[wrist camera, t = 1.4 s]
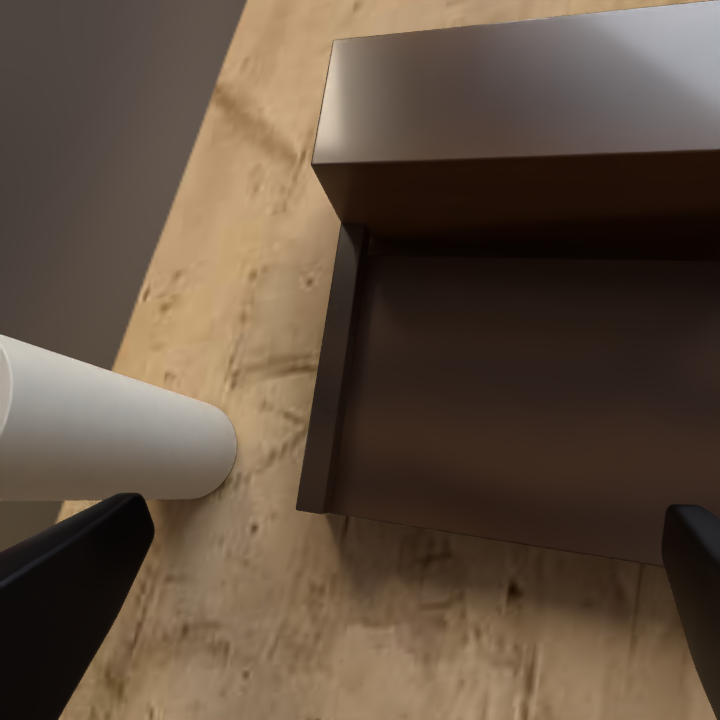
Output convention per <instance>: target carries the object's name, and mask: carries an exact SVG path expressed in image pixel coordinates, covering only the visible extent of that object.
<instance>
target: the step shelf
mask: <svg viewBox="0 0 720 720" xmlns="http://www.w3.org/2000/svg"><path fill="white" fill-rule="evenodd" d="M311 166H312V168H313V170H314V172H315V174H316V176H317V178H318V180H319V182H320V183H321V185H322V187H323V189H324V191H325V193H326V195H327V197H328V199H329V200H330V202H331V204H332V206H333V208H334V210H335V212H336V214H337V216H338V218H339V219H340V221H341V227H340V233H339V239H338V246H337V252H336V258H335V265H334V271H333V277H332V283H331V290H330V296H329V302H328V309H327V315H326V321H325V328H324V334H323V340H322V346H321V353H320V359H319V365H318V372H317V378H316V384H315V391H314V397H313V403H312V409H311V416H310V422H309V428H308V435H307V441H306V447H305V454H304V460H303V466H302V473H301V479H300V485H299V491H298V498H297V504H296V510H298V511H303V512H310V513H316V514H328V513H330V514H337V515H343V516H349V517H355V518H362V519H368V520H374V521H380V522H386V523H393V524H399V525H405V526H411V527H417V528H424V529H430V530H436V531H442V532H449V533H455V534H461V535H467V536H473V537H480V538H486V539H492V540H498V541H505V542H511V543H517V544H523V545H529V546H536V547H542V548H548V549H554V550H561V551H567V552H573V553H579V554H585V555H592V556H598V557H604V558H610V559H616V560H623V561H629V562H635V563H641V564H648V565H654V566H660V567H664V564H663V560H662V553H661V545H662V537H663V529H664V521H665V513H666V510H667V508H668V506H670V505H671V504H693V505H700V506H702V507H704V508H706V509H707V510H709V511H710V512H712V513H713V514H715V515H716V516H718V517H719V518H720V0H710V1H701V2H691V3H682V4H672V5H663V6H653V7H643V8H634V9H624V10H615V11H605V12H596V13H586V14H577V15H567V16H557V17H548V18H538V19H529V20H519V21H510V22H500V23H491V24H481V25H471V26H462V27H452V28H443V29H433V30H424V31H414V32H405V33H395V34H385V35H376V36H366V37H357V38H347V39H338V40H334V41H333V45H332V50H331V56H330V62H329V67H328V73H327V78H326V84H325V89H324V95H323V100H322V106H321V112H320V117H319V123H318V128H317V134H316V139H315V145H314V151H313V156H312V162H311Z"/></svg>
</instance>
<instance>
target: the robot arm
mask: <svg viewBox="0 0 720 720" xmlns="http://www.w3.org/2000/svg"><path fill="white" fill-rule="evenodd" d="M154 535H155V527H154V523H153V521H152V518H151V515H150V512H149V510H148V507H147V504H146V501H145V499H144V497H143V496H142V495H141V494H139V493H135V492H121V493H117V494H115V495H113V496H111V497H109V498H107V499H105V500H103V501H101V502H99V503H97V504H95V505H93V506H91V507H89V508H87V509H85V510H83V511H81V512H79V513H77V514H75V515H73V516H71V517H69V518H67V519H65V520H63V521H61V522H59V523H58V524H56V525H54V526H52V527H50V528H48V529H46V530H44V531H42V532H40V533H38V534H36V535H34V536H32V537H30V538H28V539H26V540H24V541H22V542H20V543H18V544H16V545H14V546H12V547H10V548H8V549H6V550H4V551H2V552H0V720H58V719H59V717H60V715H61V714H62V712H63V710H64V708H65V707H66V705H67V703H68V701H69V700H70V698H71V696H72V694H73V693H74V691H75V689H76V688H77V686H78V684H79V682H80V681H81V679H82V677H83V675H84V674H85V672H86V670H87V668H88V667H89V665H90V663H91V661H92V660H93V658H94V656H95V655H96V653H97V651H98V649H99V648H100V646H101V644H102V642H103V641H104V639H105V637H106V635H107V634H108V632H109V630H110V628H111V627H112V625H113V623H114V621H115V619H116V617H117V616H118V614H119V612H120V610H121V608H122V606H123V603H124V601H125V599H126V597H127V595H128V593H129V591H130V589H131V586H132V584H133V582H134V580H135V578H136V576H137V573H138V571H139V569H140V567H141V565H142V563H143V561H144V558H145V556H146V554H147V552H148V550H149V548H150V546H151V543H152V541H153V539H154ZM661 553H662V560H663V564H664V568H665V571H666V574H667V578H668V581H669V584H670V587H671V591H672V594H673V597H674V601H675V604H676V607H677V610H678V614H679V617H680V620H681V624H682V627H683V630H684V633H685V637H686V640H687V643H688V647H689V650H690V653H691V656H692V659H693V662H694V665H695V668H696V670H697V673H698V675H699V678H700V681H701V683H702V686H703V688H704V690H705V693H706V695H707V697H708V700H709V702H710V704H711V707H712V709H713V711H714V714H715V716H716V718H717V720H720V518H719V517H718V516H716V515H715V514H713V513H712V512H710V511H709V510H707V509H706V508H704V507H702V506H700V505H693V504H671V505H670V506H668V508H667V510H666V513H665V521H664V529H663V537H662V545H661Z"/></svg>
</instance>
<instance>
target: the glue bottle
mask: <svg viewBox="0 0 720 720" xmlns="http://www.w3.org/2000/svg"><path fill="white" fill-rule="evenodd" d="M236 451H237V440H236V434H235V430H234V427H233V425H232V423H231V421H230V419H229V418H228V417H227V415H226V414H225V413H224V412H223V411H221V410H220V409H219V408H217V407H215V406H213V405H210V404H208V403H205V402H202V401H199V400H196V399H193V398H190V397H187V396H184V395H181V394H178V393H175V392H172V391H169V390H166V389H163V388H160V387H157V386H154V385H151V384H148V383H145V382H142V381H139V380H136V379H133V378H130V377H127V376H124V375H121V374H118V373H115V372H112V371H108V370H106V369H102V368H99V367H97V366H94V365H90V364H87V363H85V362H82V361H79V360H75V359H73V358H69V357H66V356H64V355H60V354H58V353H55V352H52V351H49V350H46V349H43V348H40V347H36V346H34V345H31V344H28V343H24V342H22V341H19V340H16V339H12V338H10V337H6V336H4V335H1V334H0V501H59V500H60V501H63V500H105V499H107V498H109V497H111V496H113V495H115V494H117V493H121V492H135V493H139V494H141V495H142V496H143V497H144V499H145V500H159V499H196V498H200V497H203V496H205V495H207V494H209V493H211V492H212V491H214V490H215V489H217V488H218V487H219V486H220V485H221V484H222V483H223V482H224V480H225V479H226V478H227V476H228V475H229V473H230V471H231V469H232V467H233V464H234V461H235V457H236Z"/></svg>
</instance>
